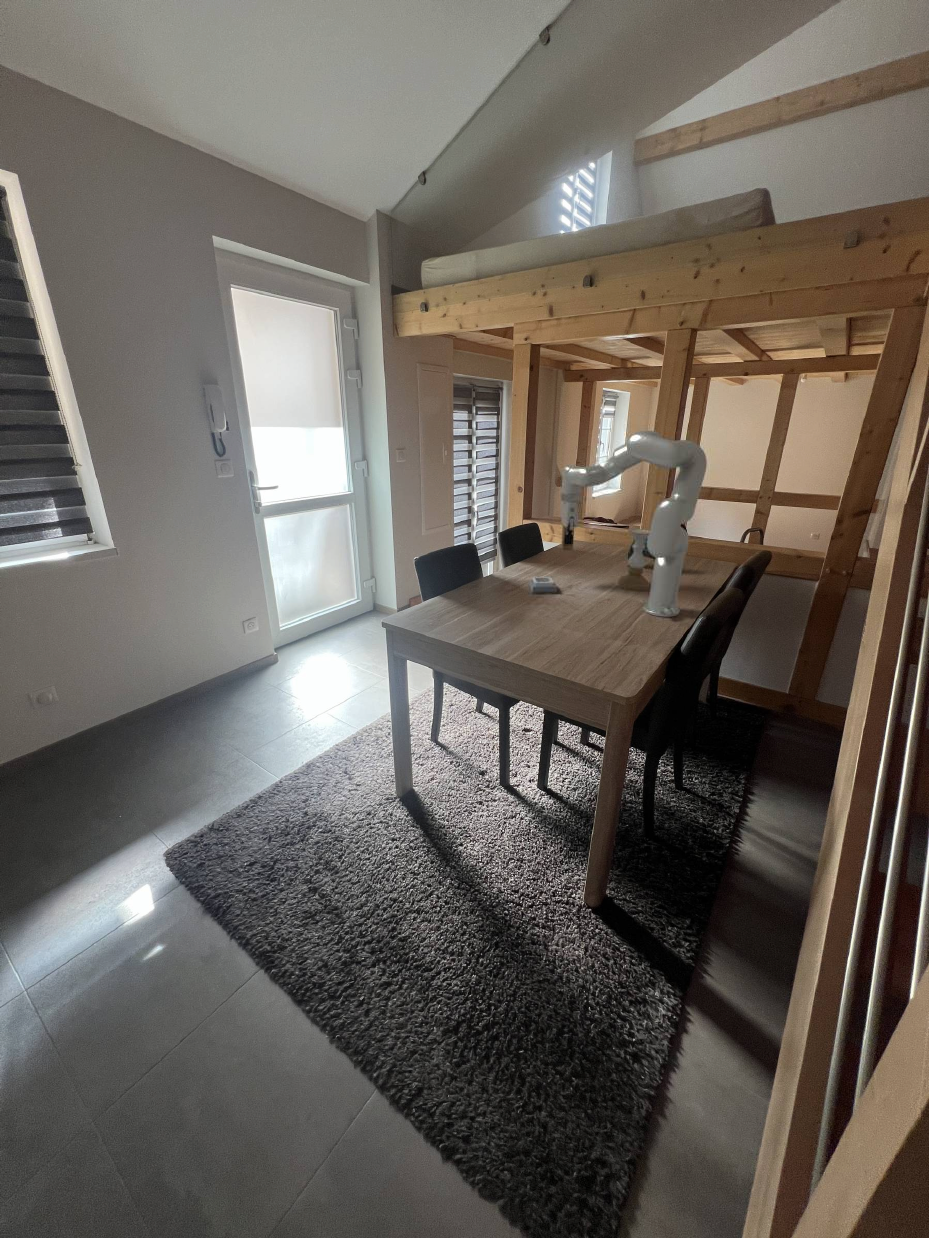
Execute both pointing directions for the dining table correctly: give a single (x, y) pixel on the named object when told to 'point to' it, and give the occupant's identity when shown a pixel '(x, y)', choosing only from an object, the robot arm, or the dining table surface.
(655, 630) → the dining table surface
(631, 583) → the candle holder
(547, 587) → the candle tray
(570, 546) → the brown tall boxy piece
